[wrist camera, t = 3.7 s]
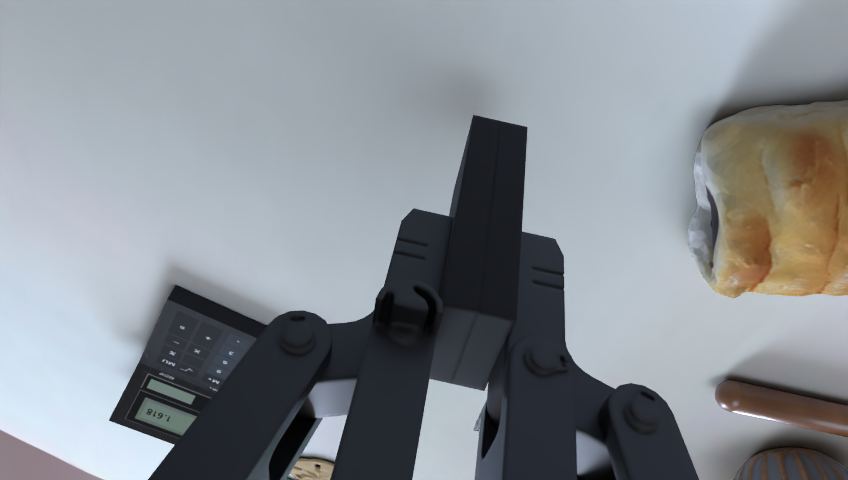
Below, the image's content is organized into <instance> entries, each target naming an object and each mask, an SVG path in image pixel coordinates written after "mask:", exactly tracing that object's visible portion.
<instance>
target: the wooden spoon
mask: <svg viewBox="0 0 848 480" xmlns="http://www.w3.org/2000/svg"><path fill="white" fill-rule="evenodd" d="M715 399H716V401H717V403H718V404H719V406H721V407H722V408H723V409H725V410H727V411H730V412H734V413H739V414H743V415H748V416H752V417H757V418H762V419H766V420H771V421H775V422H780V423H784V424H789V425H794V426H798V427H803V428H807V429H812V430H817V431H821V432H826V433H830V434H835V435H839V436H844V437H848V406H847V405H842V404H838V403H833V402H829V401H824V400H819V399H815V398H810V397H806V396H801V395H797V394H792V393H787V392H783V391H778V390H774V389H769V388H764V387H760V386H755V385H751V384H746V383H742V382H737V381H731V380H730V381H724V382H722V383H720V384H719V385H718V386H717V388H716V390H715Z"/></svg>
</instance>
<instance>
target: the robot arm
mask: <svg viewBox="0 0 848 480" xmlns="http://www.w3.org/2000/svg"><path fill="white" fill-rule="evenodd" d="M526 143H527V127H524V126H520V125H515V124H511V123H506V122H502V121H498V120H493V119H489V118H484V117H480V116H475V115H473V118H472V122H471V126H470V130H469V134H468V138H467V142H466V146H465V149H464V153H463V157H462V161H461V165H460V169H459V173H458V177H457V180H456V184H455V188H454V193H453V198H452V203H451V209H450V214H449V216H445V215H440V214H436V213H431V212H427V211H423V210H418V209H413V210H412V211H411V212H410V213H409V214H408V215H407V216H406V217H405V218H404V219H403V220H402V221H401V225H400V229H399V232H398V236H397V240H396V244H395V247H394V251H393V255H392V258H391V262H390V266H389V269H388V273H387V277H386V281H385V284H384V287H383V288H382V289H381V290H380V292H379V294H378V296H377V298H376V303H375V309H374V311H373V312H372V313H371V314H369V315H368V316H366V317H365V318H362V319H360V320H357V321H354V322H348V323H337V324H327V323H326V321H325V320H324V319H322V318H321V317H319V316H318V315H316V314H314V313H310V312H307V311H290V312H287V313H285V314H282V315H279V316H277V317H276V318H275V319H274V320H273V321H272V322H271V323H269V324H268V326H267V327H266V328H265V329H264V331H263V332H262V333H261V335H260V336H259V337H258V338H257V340H256V341H255V342H254V344H253V345H252V346H251V347H250V349H249V350H248V351H247V353H246V354H245V355H244V357H243V358H242V359H241V360H240V362H239V363H238V364H237V366H236V367H235V368H234V369H233V371H232V372H231V373H230V375H229V376H228V377H227V378H226V380H225V381H224V382H223V384H222V385H221V386H220V388H219V389H218V390H217V391H216V393H215V394H214V395H213V397H212V398H211V399H210V400H209V402H208V403H207V404H206V406H205V407H204V408H203V409H202V411H201V412H200V413H199V415H198V416H197V417H196V419H195V420H194V421H193V422H192V424H191V425H190V426H189V428H188V429H187V430H186V431H185V433H184V434H183V435H182V437H181V438H180V439H179V440H178V442H177V443H176V444H175V446H174V447H173V448H172V450H171V451H170V452H169V453H168V455H167V456H166V457H165V459H164V460H163V461H162V462H161V464H160V465H159V466H158V468H157V469H156V470H155V471H154V473H153V474H152V475H151V477H150V478H149V479H148V480H286V479H287V477H288V476H289V474H290V472H291V470H292V469H293V467H294V465H295V464H296V462H297V460H298V459H299V457H300V455H301V454H302V452H303V450H304V449H305V447H306V445H307V444H308V442H309V440H310V439H311V437H312V435H313V434H314V432H315V430H316V429H317V427H318V425H319V424H320V422H321V420H322V419H323V417H331V416H341V415H347V419H346V423H345V426H344V430H343V434H342V437H341V441H340V445H339V449H338V452H337V456H336V460H335V463H334V467H333V471H332V475H331V478H330V480H412V477H413V471H414V465H415V459H416V453H417V448H418V442H419V436H420V430H421V424H422V418H423V412H424V406H425V400H426V394H427V389H428V383H429V379H434V380H438V381H442V382H447V383H451V384H456V385H460V386H465V387H469V388H474V389H478V390H483V391H484V390H485V388H486V386H487V383H488V381H489V383H488V395H487V400H486V403H485V405H484V407H483V409H482V411H481V413H480V415H479V417H478V419H477V421H476V424H475V427H474V431H479V429H480V431H479V441H478V451H477V462H476V472H475V480H699V478H698V476H697V473H696V471H695V468H694V466H693V463H692V460H691V458H690V455H689V453H688V450H687V448H686V445H685V443H684V440H683V438H682V435H681V433H680V430H679V428H678V425H677V423H676V420H675V417H674V415H673V413H672V411H671V410H670V408H669V406H668V404H667V403H666V402H665V401H664V400H663V399H662V398H661V397H660V396H659V395H658V394H657V393H656V392H654V391H652V390H651V389H649V388H647V387H645V386H643V385H637V384H632V383H630V384H625V385H620V386H619V387H618V388H616V389H614V388H612V387H610V386H608V385H606V384H604V383H602V382H601V381H599V380H597V379H595V378H593V377H591V376H590V375H588V374H587V373H585V372H584V371H583V370H582V369H581V368H580V367H578V366H577V365H576V364H575V362H574V361H573V359H572V357H571V355H570V354H569V352H568V350H567V348H566V342H565V308H564V290H563V289H564V277H563V274H564V256H563V254H562V252H561V250H560V248H559V246H558V244H557V242H556V240H555V239H553V238H548V237H544V236H539V235H535V234H530V233H526V232H522V215H523V197H524V179H525V161H526Z"/></svg>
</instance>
